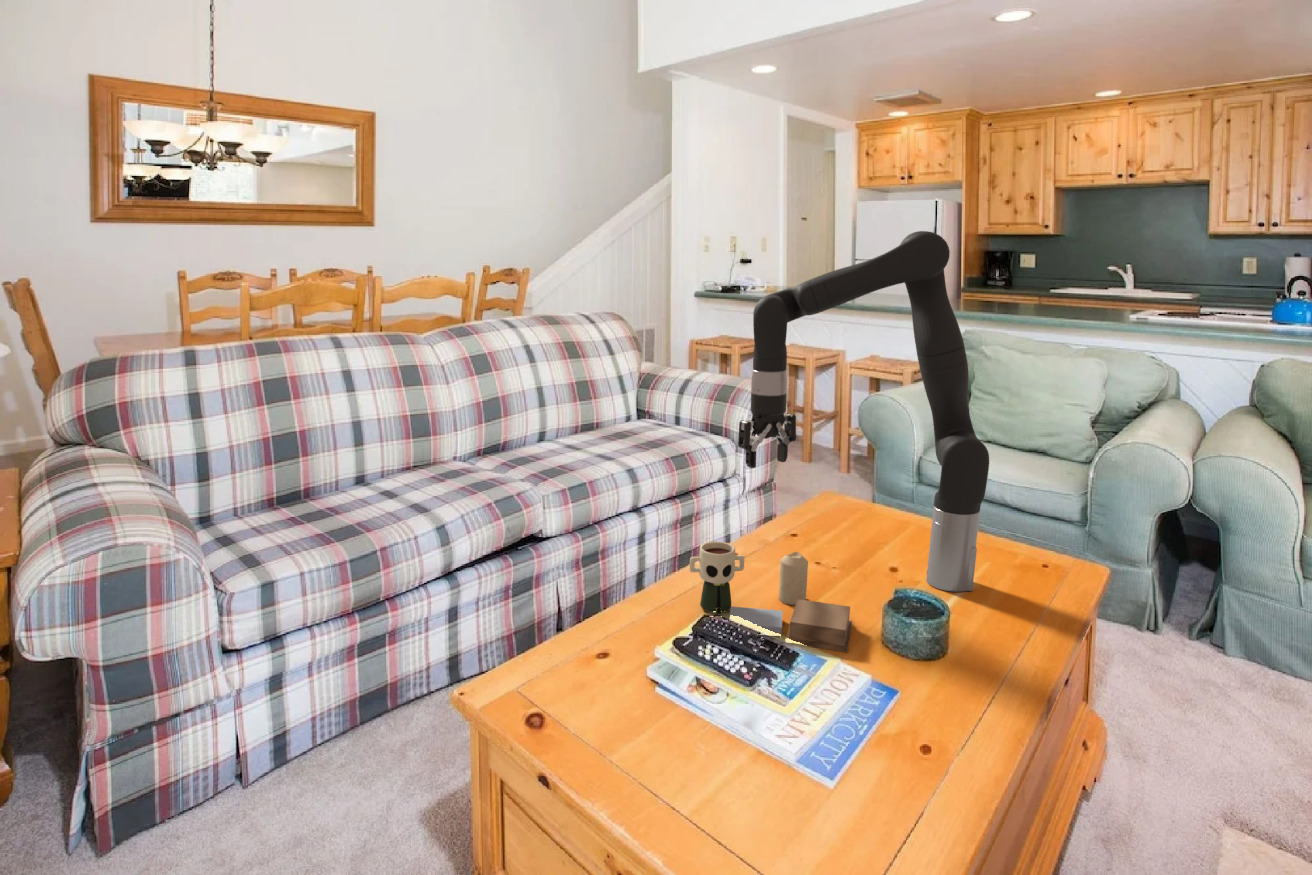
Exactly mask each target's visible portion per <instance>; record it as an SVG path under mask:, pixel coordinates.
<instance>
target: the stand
mask: <svg viewBox="0 0 1312 875" xmlns="http://www.w3.org/2000/svg"><path fill="white" fill-rule="evenodd" d="M850 611H851V606H849V605H842V604H834V603H829V602H819V601H814V600H807V599H806V600H800V599H797V602H796V605H794V609H793V611H792V615H791V617H790V621H789V627H788V630H787V633H786V636H785V638H786V637H787V638H789V639H791V640H793V641H796V642H800V643H802V644H804V645H807V646H806V647H810V646H812V647H811V648H817V649H824V650H829V651H836V652H843V653H848V651H849V650H848V649H849V645H850V640H851V635H852V634H851V633H852V627H853V621H852V620H850V615H851V612H850Z"/></svg>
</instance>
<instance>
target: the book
mask: <svg viewBox="0 0 1312 875" xmlns="http://www.w3.org/2000/svg"><path fill="white" fill-rule="evenodd" d="M783 612H784V611H783V610H780V609H779V610H777V609H769V608H768V609H767V608H766V609H765V608H755V607H742V606H732V605H731V609H729V615H733V616H739V617H741V618H743V619H744V620H748V621H750V622H752V623H753V624H757V626H761V627H762V628H765V629H768V630H770V631H773V632H775V633H779V634H782V633H783Z"/></svg>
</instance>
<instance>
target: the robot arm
mask: <svg viewBox="0 0 1312 875" xmlns="http://www.w3.org/2000/svg"><path fill="white" fill-rule="evenodd" d="M950 252H951V251H950V247H949V244H948V242H947V241H946V239H945V238H943V237H942V236H941V235H940V234H938V233H935V232H933V231H927V230H920V231H919V230H918V231H915V232H912V233H910V234H908V235H907V236H905V237H904V239H902V241H901V242H900V243H899V245H898V246H896V247H894V248H893V249H891V250H888V251H887V252H885V253H883V254H880V255H878V256H875V257H873V258H871V259H868V260H866V261H862V262H859V263H856V264H852V265H849V266H845V267H842V268H837V269H835V270H832V271H828V272H825V273H823V274H821V275H818V276H816V277H813V278H810V279H808V280H805V281H803V282H801V283H799V284H798V285H795V286H792V287H788V288H785V289H781V290H779V291H776V292H773V293H769V294H768V295H765V296H763V297H762V298H760V299H759V300H758V302H757V303H756V304H755V307H754V308H753V316H752V317H753V318H752V319H753V322H752V323H753V324H752V325H753V326H752V327H753V340H754V341H753V343H754V346H753V353H752V355H753V356H752V374H751V384H750V385H751V386H750V412H751V414H752V415H751V420H743V419H740V421H739V423H738V437H737V438H738V440H737V447H738V448H739V449H742V450H745V465H746V466H747V467H748V468H751V469H755V468H757V466H756V465H757V451H756V450H757V449H758V448H759V445H760V444H762V443H763V441H764V440H767V439H769V438H775V439H776V441H777V442H778V444H777V451H776V456H777V457H776V460H777V461H778V462H781V463H786V462H787V459H788V452H789V450H788V448H789V445H790V443H792V442H795V441H796V440H797V416H796V415H795V414H792V413H788V412H787V400H788V399H787V395H788V373H787V366H788V365H787V364H788V360H787V359H788V355H787V354H788V350H787V345H786V344H787V332H788V323H790V322H793V321H795V320H798V319H800V318H803V317H806V316H813V315H816V314H819V313H822V312H825V311H827V310H831V309H834V308H835V307H838V306H841V305H844V304H846V303H848V302H851V301H853V300H856V299H858V298H861V297H863V296H866V295H869V294H871V293H874V292H876V291H879V290H882V289H886V288H889V287H893V286H897V285H900V284H905V287H906V292H907V294H908V298H909V304H910V308H911V319H912V328H913V337H914V338H913V339H914V343H915V349H916V356H917V361H918V366H919V371H920V374H921V378H922V382H923V386H924V391H925V394H926V397H927V400H928V404H929V406H930V411H931V415H932V422H933V424H932V425H933V433H934V447H935V449H934V450H935V455H936V456H935V457H936V459H937V462H938V463H939V465H940V466H941V471H940V477H939V478H940V479H939V487H938V490H937V491H936V492H935V493H934V499H933V510H932V518H931V521H932V522H931V528H930V529H931V530H930V540H929V550H928V560H927V569H926V578H925V580H926V582H927V583H928V584H929V585H930V586H932V587H934V588H935V589H938V590H940V591H947V592H952V593H953V592H955V593H956V592H959V593H960V592H965V591H966V592H972V591H973V586H974V578H975V569H976V562H977V561H976V560H977V552H978V548H977V540H978V532H979V523H980V514H981V505H982V503H983V501H984V500H985V495H986V491H987V490H986V489H987V485H988V478H989V470H990V469H989V468H990V453H989V451H988V448H987V447H986V445H985V444H984V443H983V442H982V441H981V440H980V439H979V438H978V437H977V436H976V432H975V430H974V426H973V423H972V419H971V416H970V411H969V406H968V392H969V365H968V364H969V363H968V358H967V352H966V347H965V342H964V338H963V335H962V332H961V329H960V325H959V323H958V321H957V318H956V315H955V313H954V309H953V307H952V305H951V302H950V300H949V295H948V290H947V285H946V284H947V283H946V277H945V269H946V267H947V265H948V262H949V260H950ZM783 427H784V428H783Z"/></svg>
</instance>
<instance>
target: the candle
mask: <svg viewBox="0 0 1312 875" xmlns="http://www.w3.org/2000/svg"><path fill="white" fill-rule="evenodd" d="M779 568H780V569H779V585H778V586H779V588H778V600H779V601H780V602H781V603H782V604H785V605H789V606H795V605H796V602H797V599H800V600H807V589H808V588H807V586H808V574H809V572H808V569H809V560H807V559H806V557H804V555H803V554H801V553H800V551H794V552H792V553H788V554H786V555H784V556H783V557H781V558H780V565H779Z"/></svg>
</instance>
